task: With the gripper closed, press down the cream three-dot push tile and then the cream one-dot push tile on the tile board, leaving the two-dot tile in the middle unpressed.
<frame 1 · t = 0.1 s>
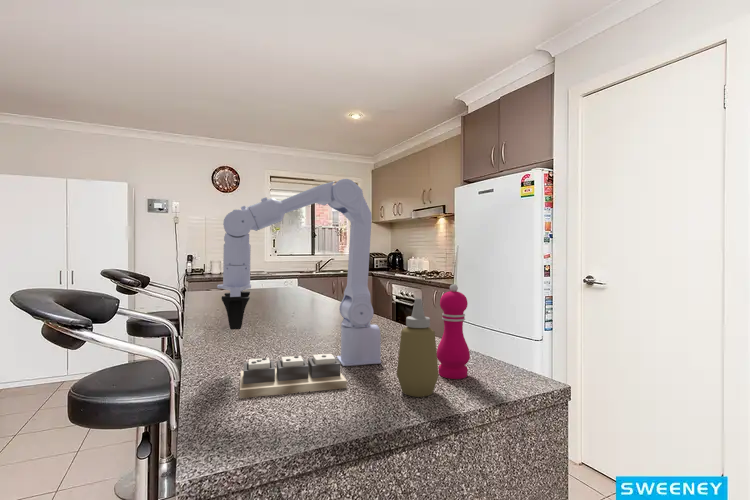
hand: (236, 326, 88), 10 cm above the counter, tool pointing down, fingers open, 7 cm apart
pepper mill: (452, 375, 87), on the counter
tile three: (259, 365, 79), point 4 cm above the counter, slide at 0.0 cm
tile one: (323, 361, 83), point 4 cm above the counter, slide at 0.0 cm
tile board: (292, 382, 81), on the counter
squeeze bottle: (417, 393, 76), on the counter
tile two: (292, 363, 81), point 4 cm above the counter, slide at 0.0 cm
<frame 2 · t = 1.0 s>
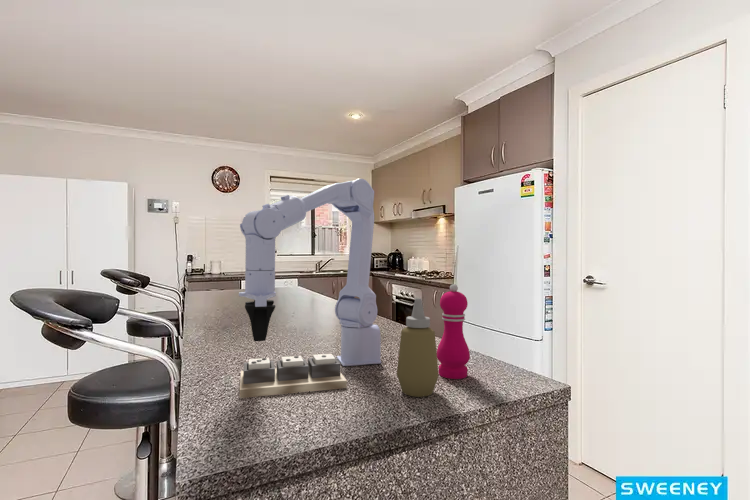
hand: (259, 338, 79), 9 cm above the counter, tool pointing down, fingers open, 4 cm apart
nothing on the counter moved.
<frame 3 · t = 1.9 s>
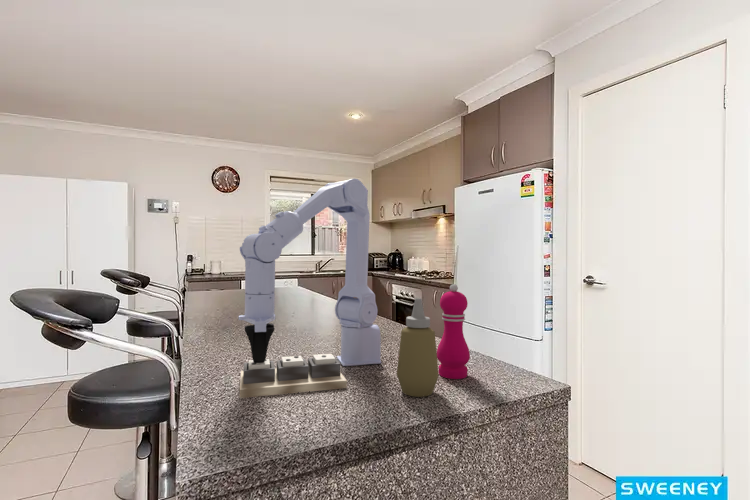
hand: (259, 361, 79), 5 cm above the counter, tool pointing down, fingers closed, pressing on tile three
tile three: (259, 366, 79), point 4 cm above the counter, slide at 0.2 cm, touching gripper
everything else where it was.
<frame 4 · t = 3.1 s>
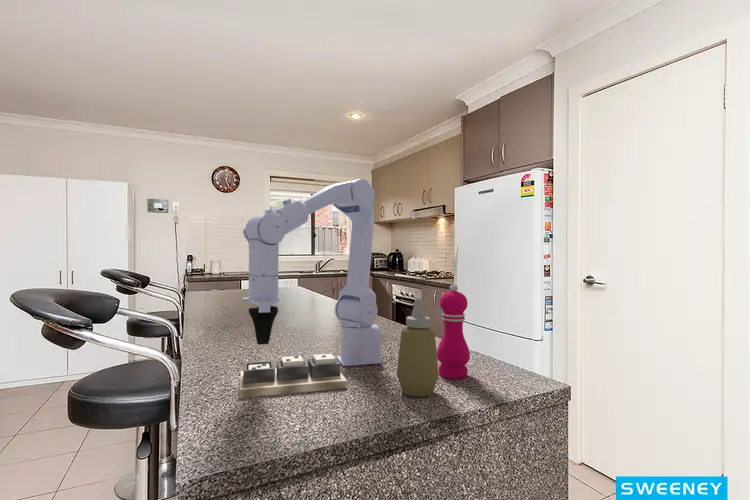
hand: (263, 343, 79), 8 cm above the counter, tool pointing down, fingers closed
tile three: (259, 371, 79), point 3 cm above the counter, slide at 1.2 cm
everything else where it was.
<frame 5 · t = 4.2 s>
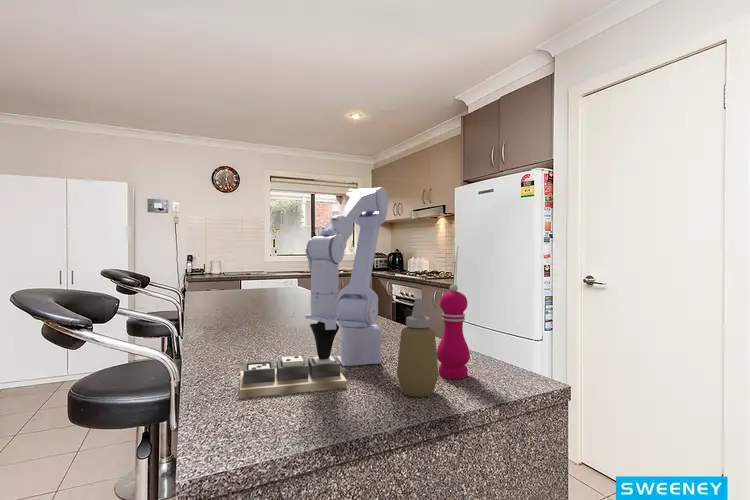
hand: (323, 358, 83), 5 cm above the counter, tool pointing down, fingers closed, pressing on tile one
tile one: (323, 363, 83), point 4 cm above the counter, slide at 0.4 cm, touching gripper
everything else where it was.
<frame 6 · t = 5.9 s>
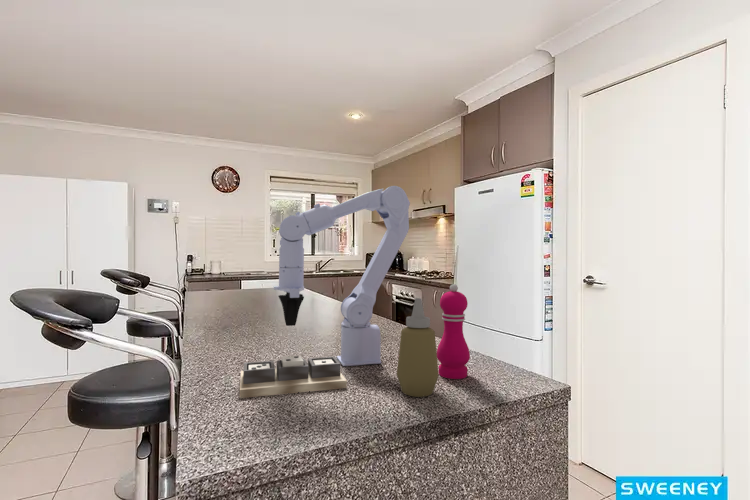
hand: (290, 325, 93), 9 cm above the counter, tool pointing down, fingers closed
tile one: (323, 366, 83), point 3 cm above the counter, slide at 1.2 cm
everything else where it was.
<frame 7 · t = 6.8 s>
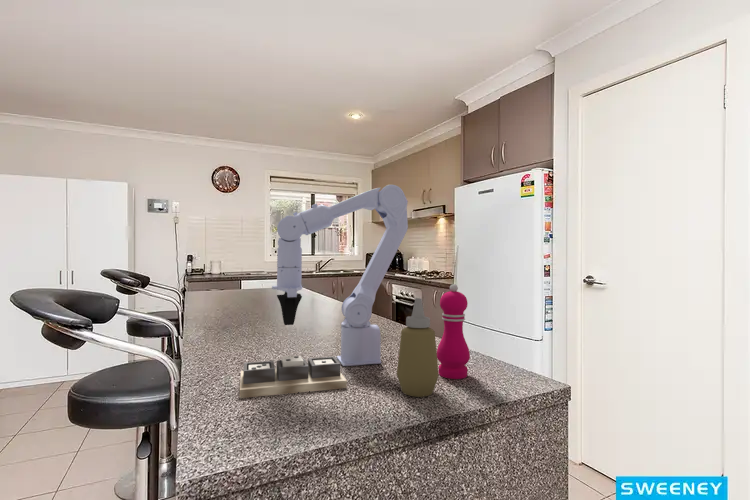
hand: (288, 324, 94), 9 cm above the counter, tool pointing down, fingers closed
nothing on the counter moved.
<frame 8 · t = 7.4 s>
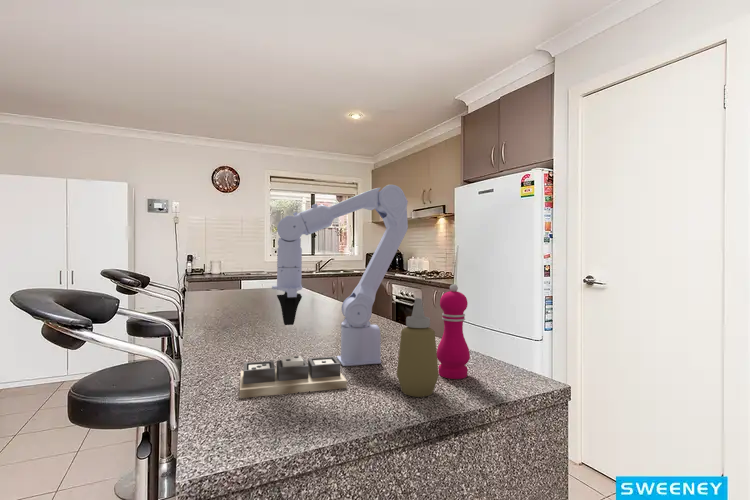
hand: (288, 324, 94), 9 cm above the counter, tool pointing down, fingers closed
nothing on the counter moved.
at the end: tile three slide at 1.2 cm; tile one slide at 1.2 cm; tile two slide at 0.0 cm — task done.
